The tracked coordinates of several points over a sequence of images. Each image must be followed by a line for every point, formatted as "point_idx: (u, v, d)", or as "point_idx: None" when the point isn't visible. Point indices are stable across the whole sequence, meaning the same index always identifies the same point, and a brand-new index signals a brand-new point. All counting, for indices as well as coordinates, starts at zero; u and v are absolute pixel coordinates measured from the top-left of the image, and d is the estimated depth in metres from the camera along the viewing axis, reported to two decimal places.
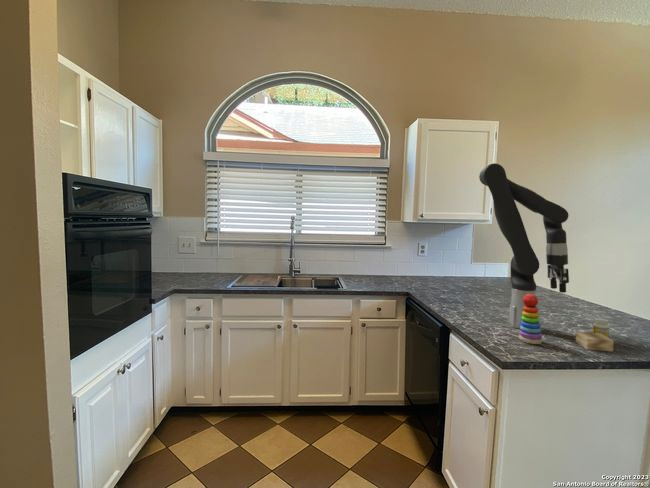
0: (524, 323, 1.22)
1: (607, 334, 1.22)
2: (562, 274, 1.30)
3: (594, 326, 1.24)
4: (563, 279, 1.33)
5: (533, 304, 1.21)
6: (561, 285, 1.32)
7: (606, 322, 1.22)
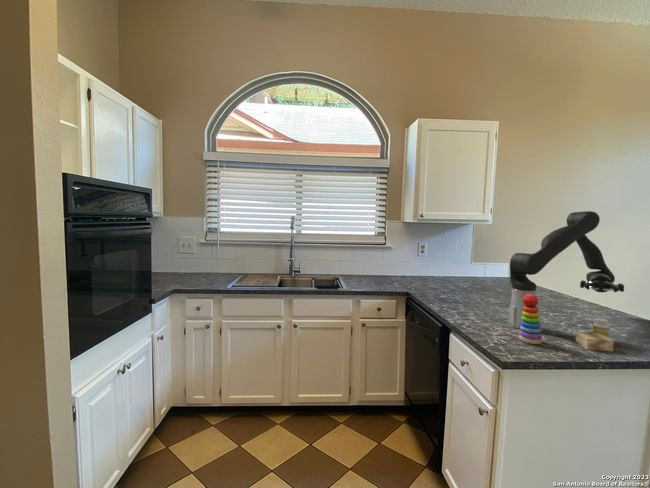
0: (524, 323, 1.22)
1: (607, 334, 1.22)
2: (622, 285, 1.33)
3: (594, 326, 1.24)
4: (612, 289, 1.33)
5: (533, 304, 1.21)
6: (617, 287, 1.30)
7: (606, 322, 1.22)
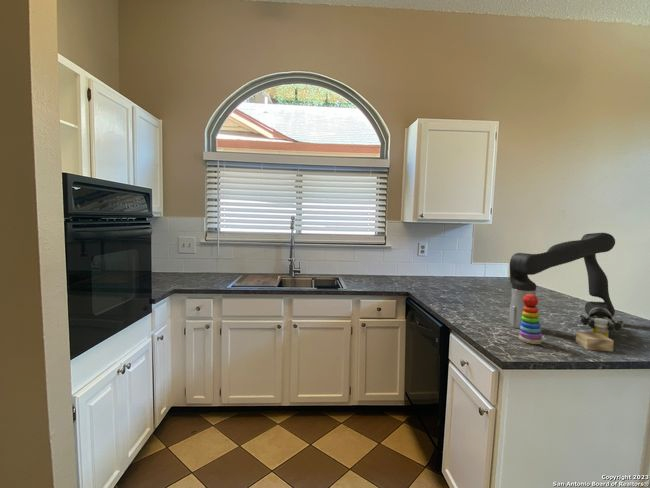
0: (524, 323, 1.22)
1: (607, 334, 1.22)
2: (621, 323, 1.23)
3: (594, 326, 1.24)
4: None
5: (533, 304, 1.21)
6: (612, 325, 1.22)
7: (606, 322, 1.22)
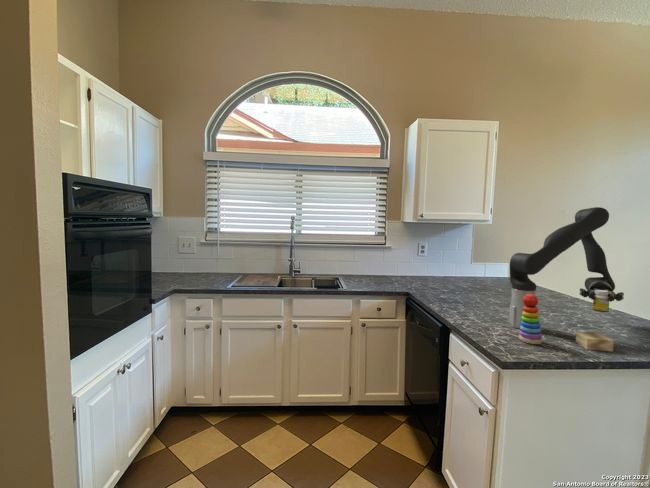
0: (524, 323, 1.22)
1: (607, 305, 1.20)
2: (622, 294, 1.22)
3: (594, 297, 1.23)
4: None
5: (533, 304, 1.21)
6: (613, 296, 1.20)
7: (606, 293, 1.20)
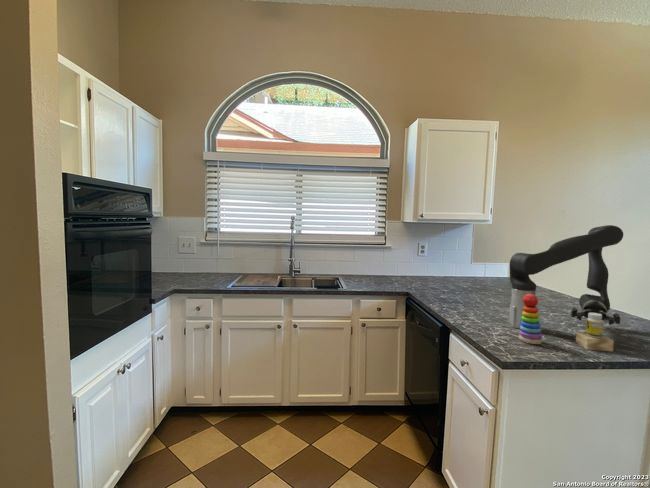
0: (524, 323, 1.22)
1: (601, 329, 1.15)
2: (618, 316, 1.17)
3: (588, 321, 1.18)
4: (606, 320, 1.18)
5: (533, 304, 1.21)
6: (612, 318, 1.15)
7: (600, 316, 1.15)
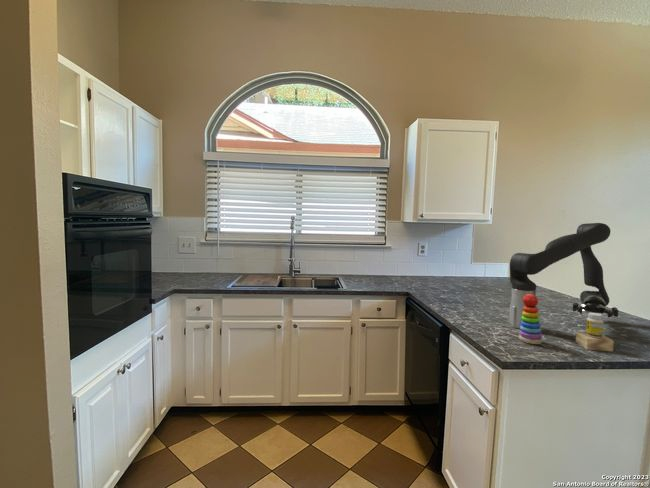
0: (524, 323, 1.22)
1: (601, 329, 1.15)
2: None
3: (588, 321, 1.18)
4: (605, 313, 1.27)
5: (533, 304, 1.21)
6: (611, 311, 1.24)
7: (600, 316, 1.15)
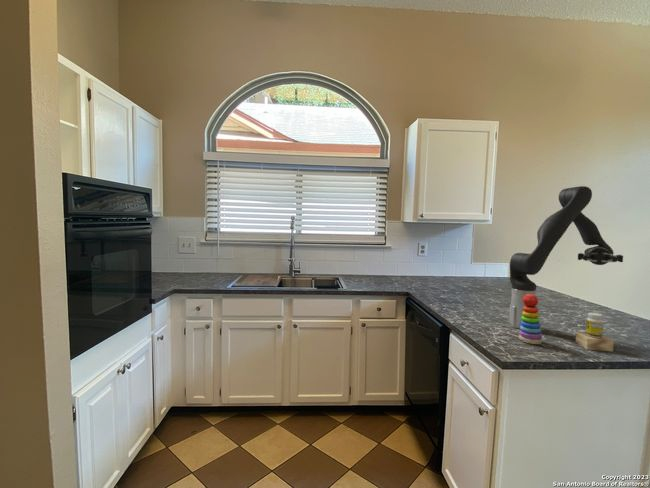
0: (524, 323, 1.22)
1: (601, 329, 1.15)
2: (621, 256, 1.29)
3: (588, 321, 1.18)
4: (610, 260, 1.29)
5: (533, 304, 1.21)
6: (616, 257, 1.26)
7: (600, 316, 1.15)
